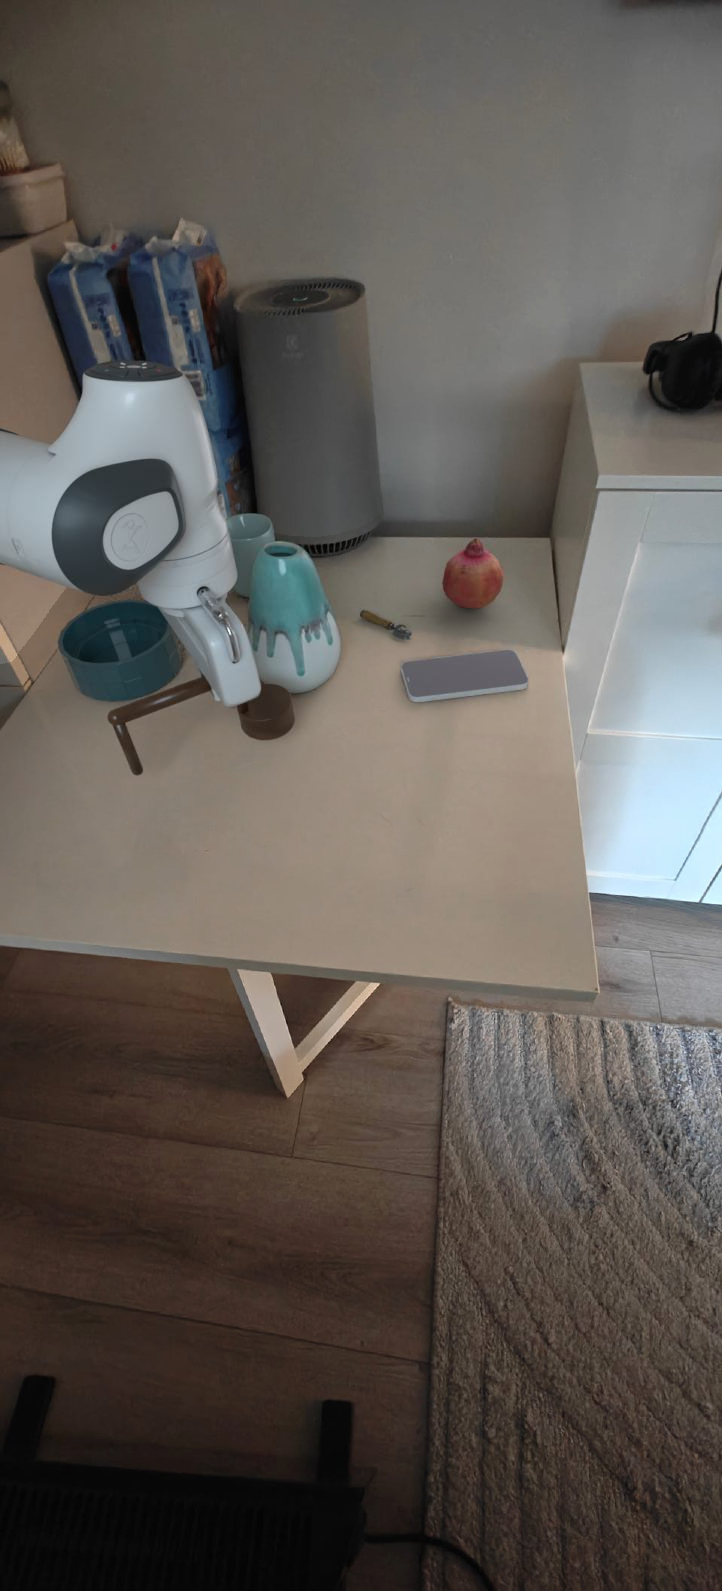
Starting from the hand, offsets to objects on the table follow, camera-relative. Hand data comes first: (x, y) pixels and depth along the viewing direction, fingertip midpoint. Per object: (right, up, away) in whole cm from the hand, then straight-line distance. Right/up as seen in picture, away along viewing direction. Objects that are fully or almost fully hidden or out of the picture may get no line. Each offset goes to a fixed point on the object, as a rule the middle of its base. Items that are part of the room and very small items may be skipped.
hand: (216, 687), depth 74 cm
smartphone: (+28, +4, +17) cm, 33 cm away
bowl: (-16, +6, +22) cm, 28 cm away
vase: (+7, +4, +19) cm, 21 cm away
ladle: (-1, -5, +5) cm, 7 cm away
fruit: (+30, +15, +28) cm, 44 cm away
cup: (-1, +19, +33) cm, 39 cm away
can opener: (+18, +12, +25) cm, 33 cm away
